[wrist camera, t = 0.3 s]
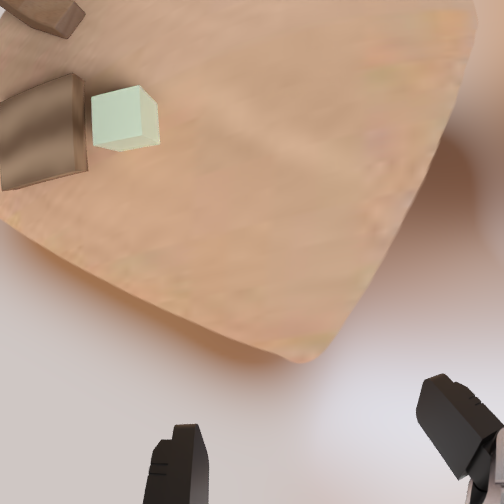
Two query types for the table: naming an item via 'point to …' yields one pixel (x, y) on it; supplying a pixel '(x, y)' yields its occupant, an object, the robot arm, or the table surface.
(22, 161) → the brown tapered block
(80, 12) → the wooden block
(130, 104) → the green block
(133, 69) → the table surface
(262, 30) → the table surface
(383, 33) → the table surface
